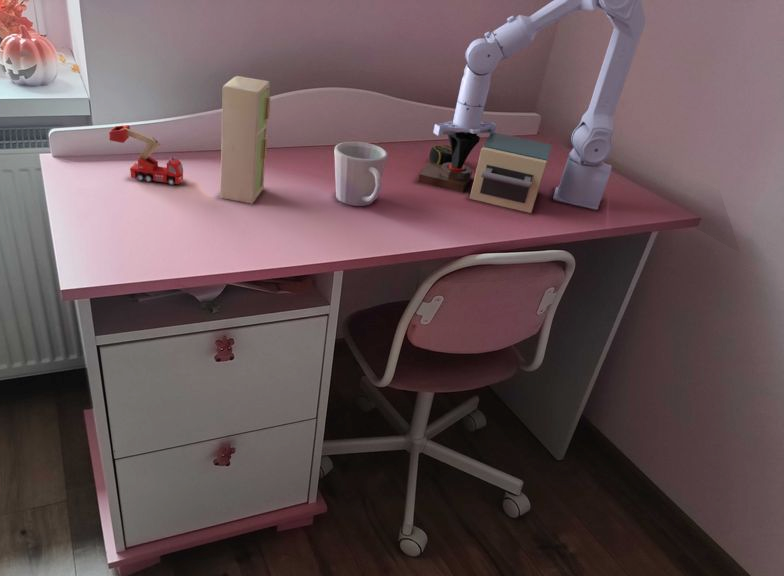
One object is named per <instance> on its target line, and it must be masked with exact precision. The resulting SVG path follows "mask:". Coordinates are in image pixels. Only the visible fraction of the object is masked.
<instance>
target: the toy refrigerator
mask: <svg viewBox="0 0 784 576" xmlns="http://www.w3.org/2000/svg"><path fill="white" fill-rule="evenodd" d="M270 83H271V82H270V81H269V80H264V79H257V78H253V77H252V78H251V77H246V76H240V75H236V76H233V77H232V78H231V79H230V80H228V81H227V82H226V83H225V84H224V85H223V86H222V99H221V100H222V104H221V105H222V107H221V147H220V148H221V149H220V151H221V152H220V158H221V159H220V198H221V199H225V200H231V201H235V202H241V203H247V204H254V202H255V201H256V200H257V198H258V197H259V195H260V194H261V193H262V191H263V190H264V185H265V169H266V158H267V147H268V138H267V136H268V120H269V119H270V110H271V97H270V87H271V84H270Z"/></svg>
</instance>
